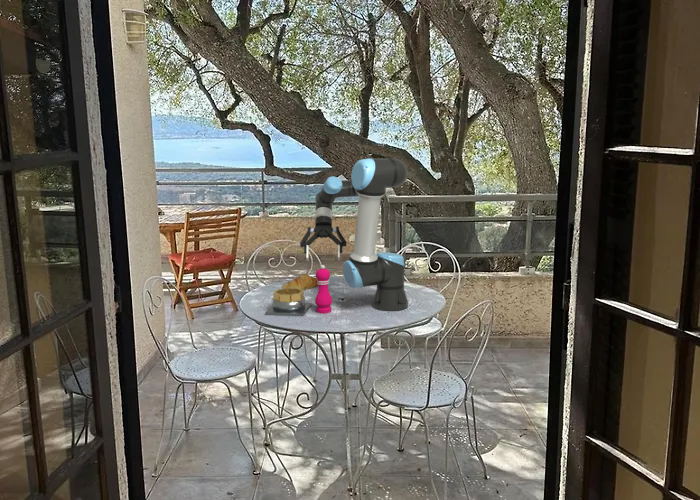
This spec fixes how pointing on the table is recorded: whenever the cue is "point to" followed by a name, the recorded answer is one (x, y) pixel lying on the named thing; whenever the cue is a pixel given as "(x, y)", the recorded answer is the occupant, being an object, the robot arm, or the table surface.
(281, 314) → the silver and gold bowl
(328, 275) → the pepper mill
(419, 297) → the table surface
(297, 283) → the croissant
